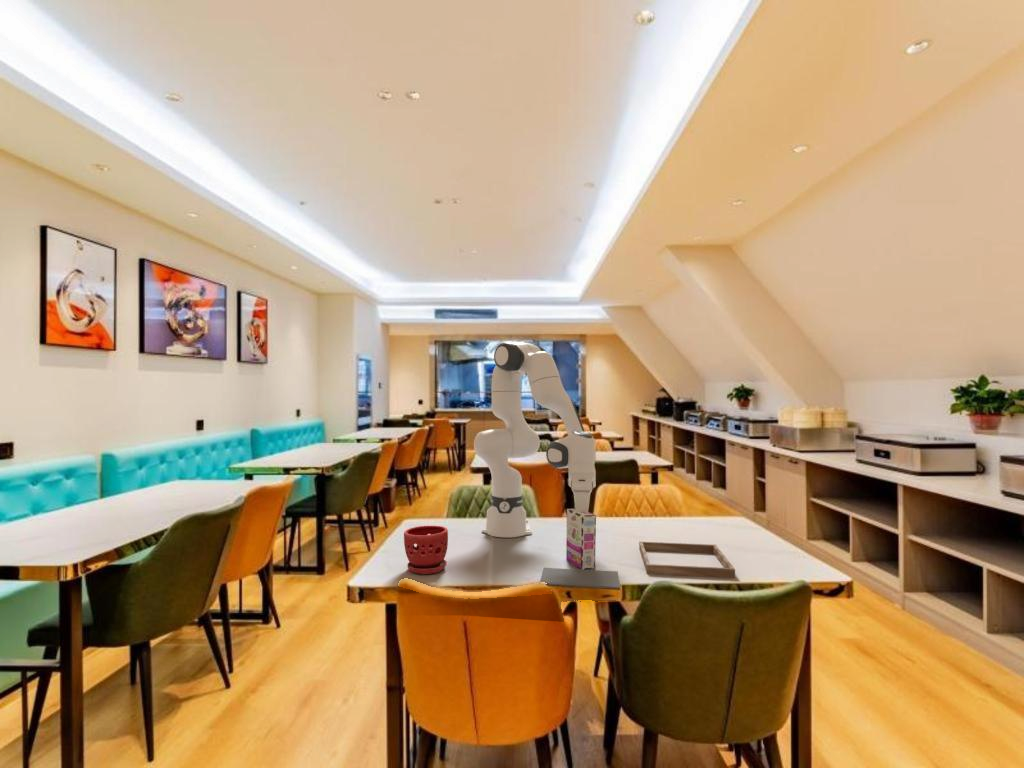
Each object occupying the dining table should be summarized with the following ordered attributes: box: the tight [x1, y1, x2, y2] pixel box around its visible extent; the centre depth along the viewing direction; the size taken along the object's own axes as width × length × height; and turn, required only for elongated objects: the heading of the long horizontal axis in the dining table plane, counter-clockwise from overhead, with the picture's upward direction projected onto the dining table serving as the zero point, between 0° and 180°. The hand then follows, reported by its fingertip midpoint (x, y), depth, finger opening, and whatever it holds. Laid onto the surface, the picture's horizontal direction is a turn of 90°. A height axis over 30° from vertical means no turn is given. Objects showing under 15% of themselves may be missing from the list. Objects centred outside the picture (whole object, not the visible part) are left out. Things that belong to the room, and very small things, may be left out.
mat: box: [539, 567, 621, 590], centre depth 160 cm, size 13×22×1 cm, turn 82°
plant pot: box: [403, 525, 449, 575], centre depth 167 cm, size 13×13×12 cm
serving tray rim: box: [638, 541, 736, 579], centre depth 175 cm, size 25×25×2 cm
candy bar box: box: [565, 507, 597, 570], centre depth 173 cm, size 11×5×16 cm, turn 20°
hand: (582, 523), depth 183 cm, fingers closed
